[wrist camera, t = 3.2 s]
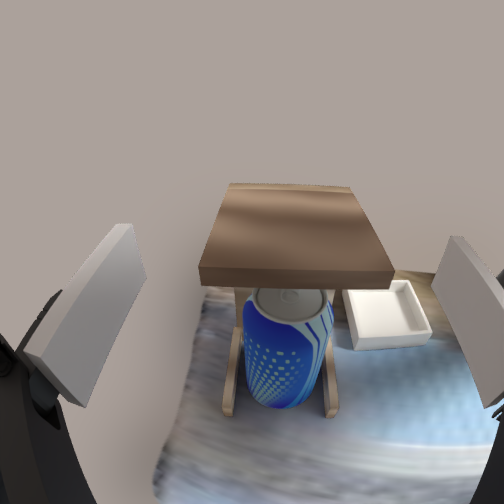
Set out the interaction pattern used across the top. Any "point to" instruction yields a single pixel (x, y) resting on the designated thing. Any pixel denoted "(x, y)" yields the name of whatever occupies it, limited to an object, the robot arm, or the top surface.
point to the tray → (386, 317)
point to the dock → (291, 255)
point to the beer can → (285, 343)
